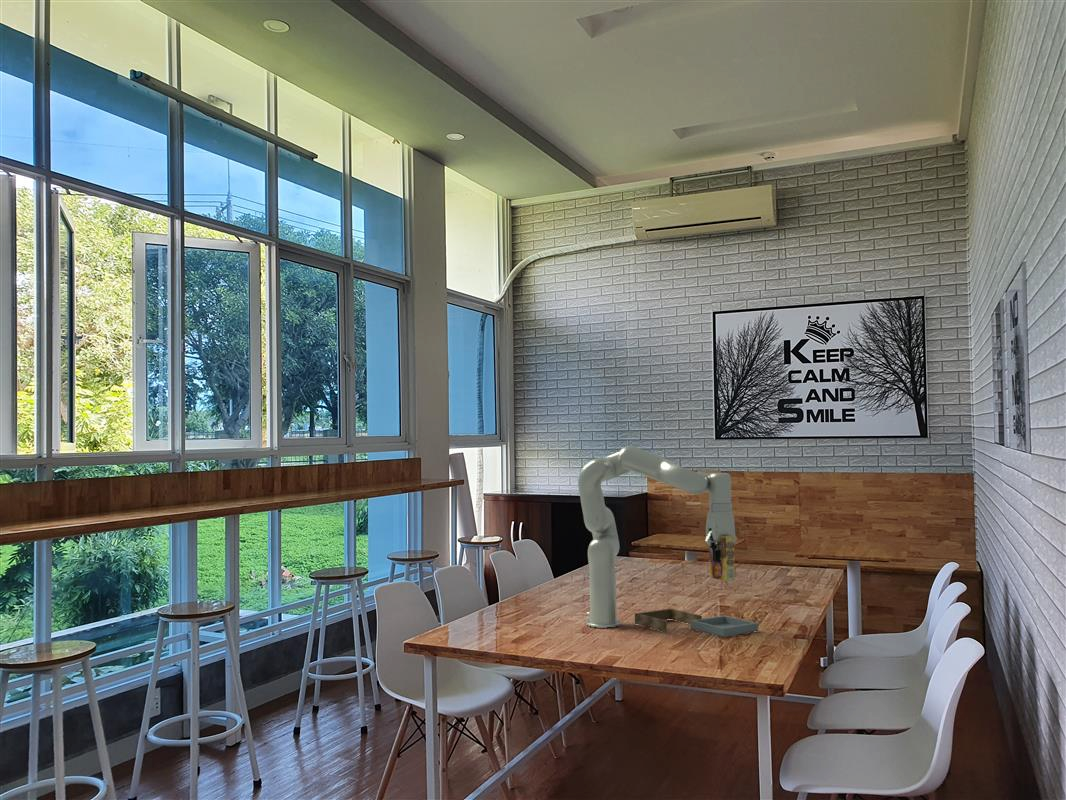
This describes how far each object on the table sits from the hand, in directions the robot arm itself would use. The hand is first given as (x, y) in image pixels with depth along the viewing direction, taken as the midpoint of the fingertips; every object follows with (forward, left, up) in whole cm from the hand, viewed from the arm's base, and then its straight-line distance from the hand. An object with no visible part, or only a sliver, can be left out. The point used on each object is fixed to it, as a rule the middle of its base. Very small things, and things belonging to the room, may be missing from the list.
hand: (721, 560), depth 283 cm
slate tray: (0, 0, -24) cm, 24 cm away
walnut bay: (-17, -11, -24) cm, 31 cm away
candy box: (0, 0, -7) cm, 7 cm away
